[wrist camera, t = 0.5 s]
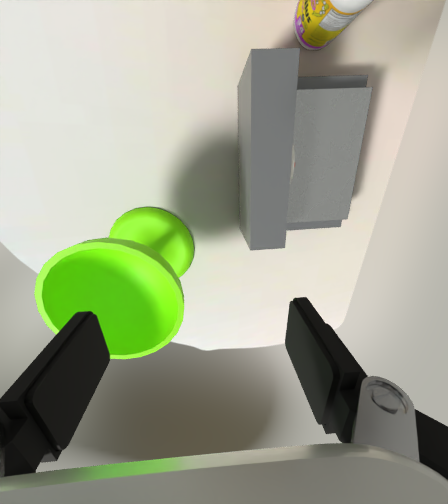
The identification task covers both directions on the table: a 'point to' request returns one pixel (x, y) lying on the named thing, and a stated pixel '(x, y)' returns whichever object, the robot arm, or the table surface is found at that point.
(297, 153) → the pan
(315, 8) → the supplement bottle
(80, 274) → the wineglass
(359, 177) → the table surface
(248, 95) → the scale
